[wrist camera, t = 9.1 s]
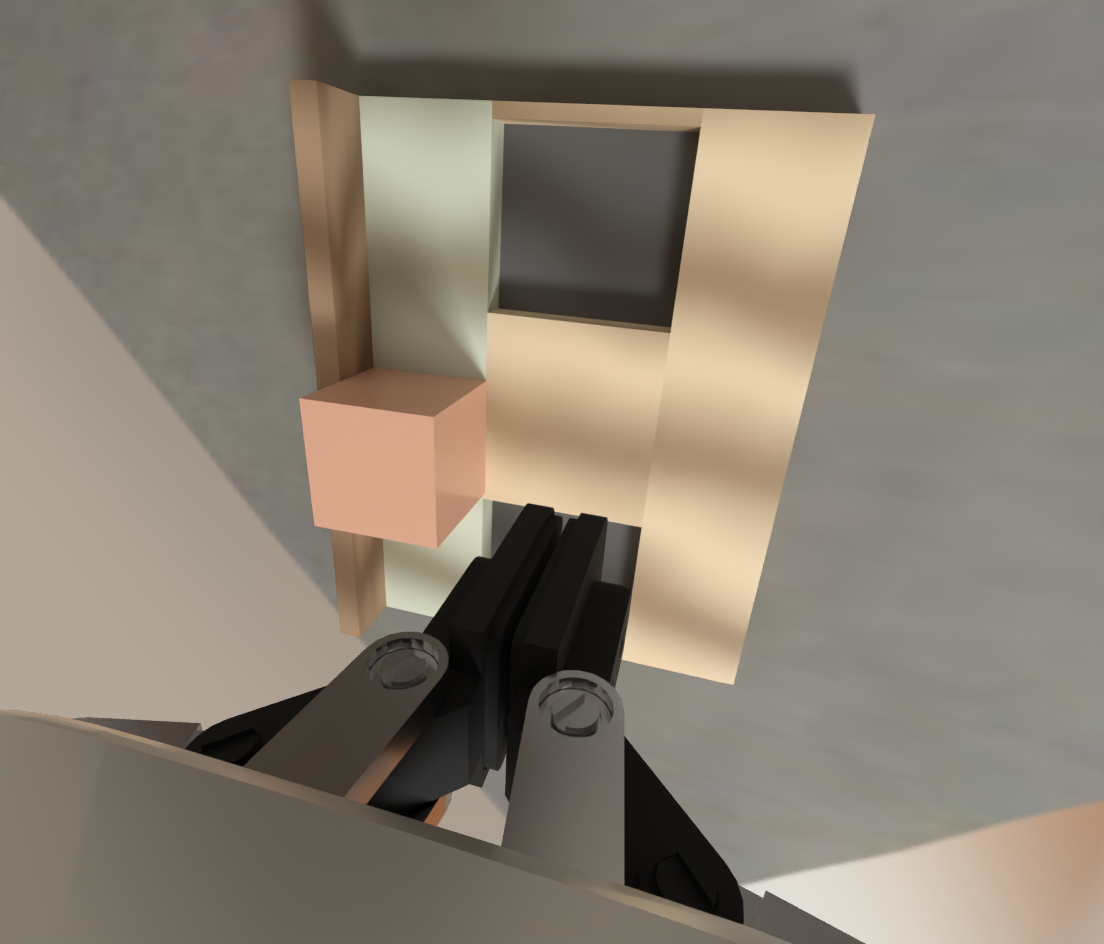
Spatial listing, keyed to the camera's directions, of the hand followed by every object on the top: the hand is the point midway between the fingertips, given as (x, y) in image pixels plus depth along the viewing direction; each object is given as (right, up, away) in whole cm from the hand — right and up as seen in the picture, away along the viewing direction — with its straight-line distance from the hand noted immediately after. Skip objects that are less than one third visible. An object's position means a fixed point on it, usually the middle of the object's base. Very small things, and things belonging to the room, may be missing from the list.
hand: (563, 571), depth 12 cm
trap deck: (0, +5, +13) cm, 14 cm away
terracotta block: (-5, +4, +13) cm, 15 cm away
